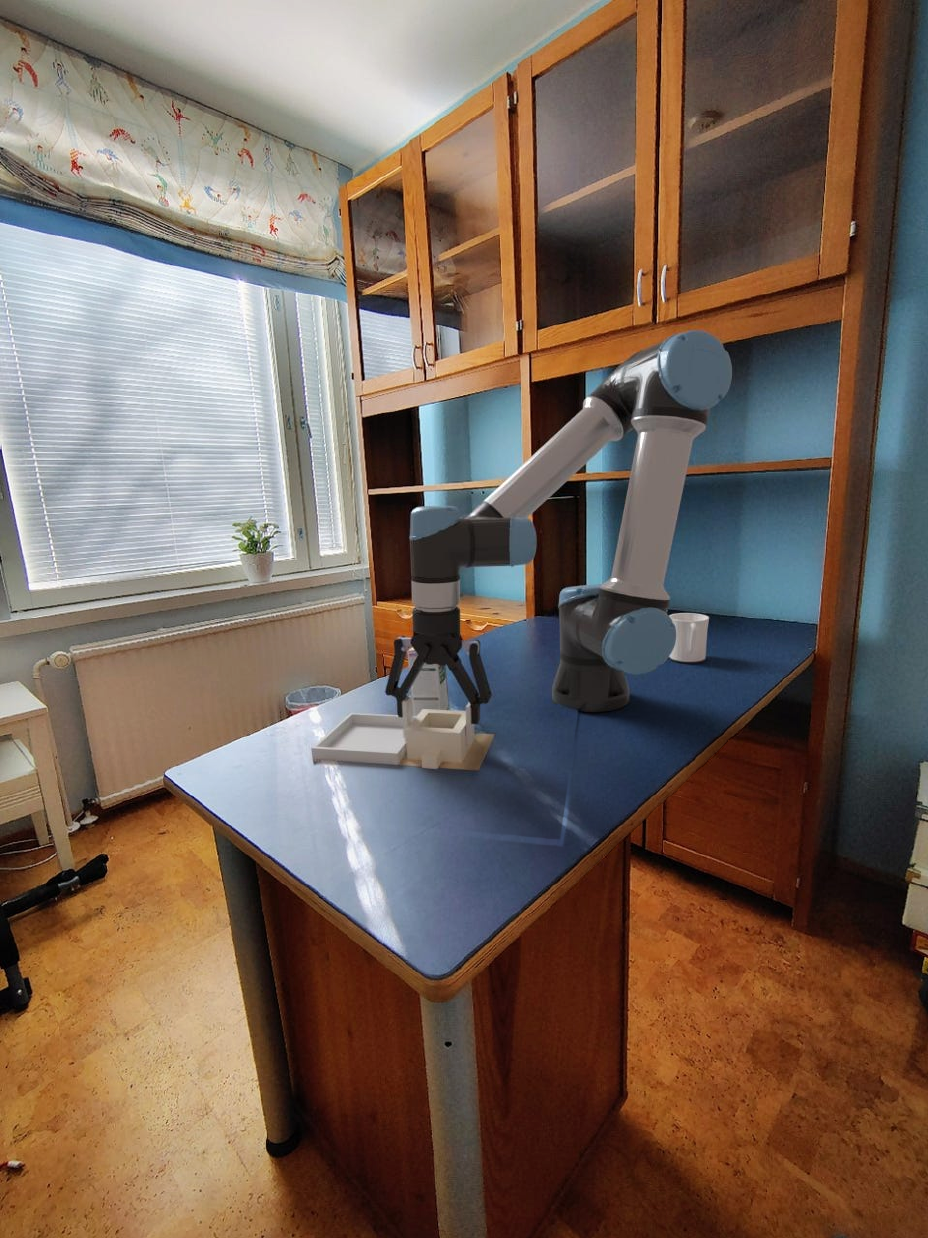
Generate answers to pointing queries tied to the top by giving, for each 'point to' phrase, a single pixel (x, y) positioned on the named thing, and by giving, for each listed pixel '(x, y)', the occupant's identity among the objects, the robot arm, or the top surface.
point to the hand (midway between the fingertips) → (438, 738)
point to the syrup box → (428, 686)
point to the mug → (689, 638)
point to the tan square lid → (471, 758)
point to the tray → (364, 740)
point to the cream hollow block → (437, 737)
